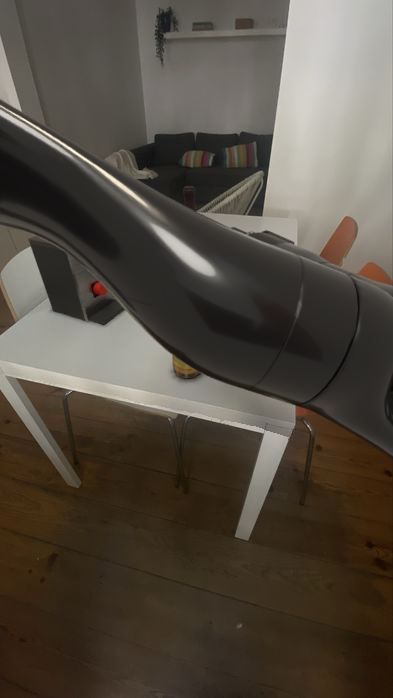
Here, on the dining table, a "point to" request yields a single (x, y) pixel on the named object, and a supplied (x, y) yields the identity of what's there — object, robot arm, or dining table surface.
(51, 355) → the dining table surface
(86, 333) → the dining table surface
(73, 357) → the dining table surface
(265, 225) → the dining table surface
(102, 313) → the coffee maker
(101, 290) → the power button
